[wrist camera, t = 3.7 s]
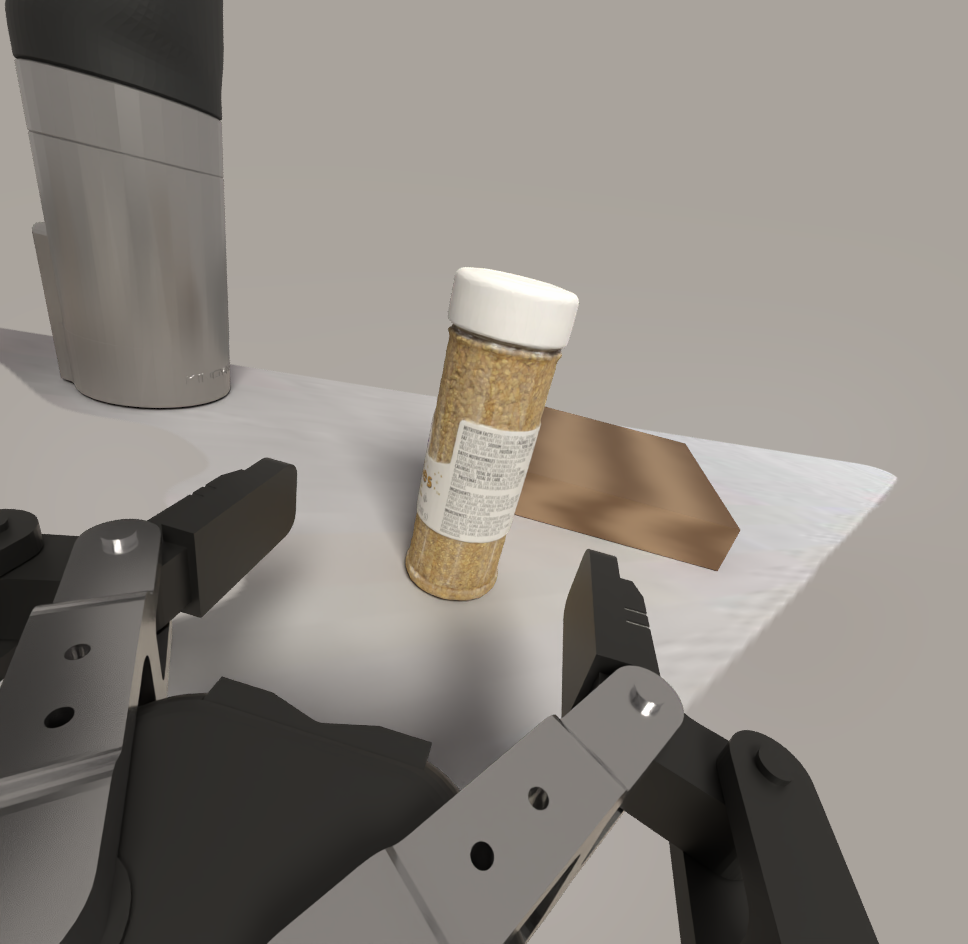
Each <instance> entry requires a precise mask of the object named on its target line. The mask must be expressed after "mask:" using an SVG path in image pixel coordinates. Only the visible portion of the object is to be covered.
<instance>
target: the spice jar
mask: <svg viewBox="0 0 968 944" xmlns="http://www.w3.org/2000/svg"><path fill="white" fill-rule="evenodd" d="M578 304H579V300H578V297H577V296H576V295H575V294H573V293H571V292H569V291H567V290H564V289H561V288H560V287H557V286H554V285H551V284H548V283H545V282H541V281H538V280H534V279H531V278H527V277H522V276H518V275H514V274H510V273H505V272H500V271H495V270H490V269H484V268H472V267H463V268H460V269H459V270H457V272H456V274H455V278H454V283H453V288H452V293H451V299H450V304H449V310H448V319H449V320H450V321H451V322H452V323H453V325H452V326H451V327H449V328H448V331H449V335H450V336H449V342H448V346H447V350H446V358H445V361H444V368H443V374H442V378H441V383H440V389H439V394H438V398H437V406H436V409H435V412H434V415H433V419H432V424H431V430H430V435H429V440H428V446H427V451H426V457H425V462H424V468H423V473H422V478H421V484H420V489H419V495H418V500H417V514H416V520H415V524H414V532H413V537H412V540H411V546H410V548H409V549H408V552H407V555H406V568H407V571H408V573H409V576H410V578H411V580H412V581H413V582H415V583H416V584H417V586H418V587H420V588H421V589H422V590H424V591H425V592H427V593H429V594H431V595H434V596H437V597H440V598H443V599H449V600H471V599H475V598H480V597H481V596H483V595H484V594H486V593H487V592H488V591H489V590H490V589H491V588H492V587H493V586H494V584H495V582H496V579H497V574H498V569H497V566H498V562H499V558H500V555H501V552H502V548H503V545H504V542H505V537H506V534H507V533H508V531H509V529H510V527H511V524H512V521H513V517H514V514H515V510H516V507H517V504H518V501H519V497H520V494H521V491H522V487H523V484H524V481H525V477H526V474H527V471H528V467H529V464H530V460H531V457H532V454H533V450H534V447H535V443H536V440H537V436H538V433H539V429H540V426H541V417H542V414H543V411H544V407H545V403H546V400H547V395H548V392H549V389H550V385H551V382H552V379H553V375H554V372H555V369H556V364H557V362H558V360H559V359H560V358H561V356H562V353H561V349H562V348H564V347H566V345H567V344H568V341H569V338H570V334H571V331H572V328H573V324H574V320H575V316H576V312H577V308H578Z"/></svg>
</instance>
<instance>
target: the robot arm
mask: <svg viewBox="0 0 968 944" xmlns="http://www.w3.org/2000/svg"><path fill="white" fill-rule="evenodd" d="M5 11H6V18H7V25H8V31H9V36H10V41H11V46H12V52H13V55H14V57H15V58H17V59H15V60H14V61H15V66H16V71H17V77H18V82H19V87H20V93H21V98H22V103H23V109H24V114H25V120H26V125H27V129H28V130H29V132H28V134H29V140H30V144H31V151H32V156H33V161H34V166H35V172H36V178H37V183H38V188H39V193H40V198H41V204H42V210H43V215H44V221H45V222H38V223H35V224H34V225H33V227H32V233H33V238H34V244H35V248H36V253H37V259H38V264H39V268H40V273H41V278H42V283H43V289H44V294H45V299H46V304H47V309H48V314H49V319H50V324H51V329H52V334H53V339H54V344H55V349H56V354H57V359H58V364H59V369H60V374H61V378H63V379H66V380H69V381H72V382H73V383H74V384H75V386H76V389H77V390H79V391H80V392H81V393H82V394H84V395H86V396H89V397H91V398H93V399H97V400H100V401H104V402H107V403H113V404H118V405H124V406H134V407H149V408H171V407H185V406H193V405H199V404H204V403H208V402H211V401H215V400H218V399H220V398H222V397H224V396H225V395H226V394H227V393H228V392H229V390H230V362H229V323H228V295H227V266H226V265H227V264H226V235H225V208H224V207H225V205H224V179H223V148H222V122H221V121H220V120H222V107H221V87H222V74H223V52H224V51H223V50H224V46H223V0H6V2H5ZM296 488H297V470H296V467H295V466H294V465H292V464H288V463H285V462H281V461H278V460H274V459H271V458H263V459H261V460H260V461H258V462H257V463H255V464H254V465H252V466H251V467H249V468H247V469H246V470H242V469H241V470H238V471H234V472H231V473H227V474H224V475H221V476H219V477H218V478H216V479H214V480H213V481H211V482H209V483H208V484H206V486H205V487H201V488H200V489H198V490H196V491H195V492H193V494H192V495H188V496H187V497H185V498H183V499H182V500H180V501H178V502H177V503H175V504H174V505H172V506H170V507H169V508H167V509H165V510H164V511H162V512H161V513H159V514H157V515H156V516H154V517H152V518H151V519H149V520H147V521H145V520H139V519H121V520H115V521H109V522H106V523H102V524H99V525H96V526H94V527H92V528H90V529H88V530H86V531H85V532H83V533H82V534H81V535H80V536H66V535H50V534H41V530H40V526H39V522H38V519H37V517H36V516H35V515H33V514H32V513H30V512H26V511H23V510H15V509H0V681H1V680H3V679H4V680H3V682H2V685H1V687H0V944H526V943H527V942H528V941H529V940H530V938H531V937H532V936H533V934H534V933H535V932H536V930H537V929H538V928H539V926H540V925H541V924H542V922H543V921H544V920H545V918H546V917H547V916H548V914H549V913H550V912H551V910H552V909H553V907H554V906H555V904H556V903H557V902H558V900H559V899H560V898H561V896H562V895H563V893H564V892H565V890H566V889H567V887H568V886H569V884H570V883H571V882H572V880H573V879H574V878H575V876H576V875H577V874H578V872H579V871H580V870H581V868H582V867H583V866H584V864H585V863H586V862H587V861H588V859H589V858H590V857H591V855H592V854H593V853H594V851H595V850H596V849H597V847H598V846H599V845H600V843H601V842H602V841H603V839H604V838H605V837H606V835H607V834H608V833H609V831H610V830H611V829H612V827H613V826H614V825H615V824H616V822H617V821H618V820H619V818H620V817H621V816H622V815H623V813H624V812H625V811H626V812H627V813H628V814H630V815H631V816H633V817H634V818H636V819H637V820H639V821H640V822H642V823H643V824H644V825H646V826H647V827H649V828H650V829H652V830H653V831H655V832H656V833H658V834H659V835H660V836H662V837H663V838H665V839H666V840H668V841H669V844H670V854H671V862H672V870H673V879H674V887H675V895H676V904H677V913H678V921H679V930H680V938H681V944H879V943H878V941H877V938H876V935H875V933H874V930H873V928H872V925H871V923H870V921H869V918H868V916H867V914H866V911H865V908H864V906H863V904H862V901H861V899H860V896H859V894H858V891H857V889H856V887H855V884H854V882H853V879H852V877H851V874H850V872H849V870H848V867H847V865H846V862H845V860H844V858H843V855H842V853H841V850H840V848H839V845H838V843H837V840H836V838H835V835H834V833H833V831H832V828H831V826H830V824H829V821H828V819H827V816H826V814H825V811H824V809H823V806H822V804H821V802H820V799H819V797H818V794H817V792H816V790H815V787H814V785H813V782H812V780H811V778H810V776H809V775H808V773H807V771H806V770H805V769H804V767H803V766H802V765H801V763H800V762H799V761H798V760H797V759H796V758H795V757H794V756H793V755H792V754H791V753H790V752H789V751H788V750H787V749H786V748H784V747H783V746H782V745H781V744H779V743H778V742H776V741H775V740H773V739H772V738H770V737H768V736H766V735H764V734H761V733H759V732H755V731H750V730H743V731H739V732H737V733H735V734H734V735H733V736H732V738H731V739H730V740H729V741H728V740H726V739H724V738H723V737H721V736H719V735H718V734H716V733H714V732H713V731H711V730H709V729H707V728H705V727H704V726H702V725H700V724H699V723H697V722H696V721H694V720H693V719H691V718H690V717H688V716H687V715H686V714H685V713H684V710H683V705H682V703H681V700H680V698H679V696H678V695H677V693H676V692H675V690H674V689H673V688H672V687H671V686H670V685H669V684H668V683H667V682H666V681H665V680H664V679H663V678H661V677H660V673H659V668H658V663H657V659H656V654H655V650H654V645H653V640H652V636H651V631H650V629H649V622H648V617H647V616H646V613H647V612H646V608H645V603H644V599H643V596H642V595H641V593H640V592H639V590H638V589H637V588H636V586H635V585H634V583H633V582H632V581H629V580H625V579H622V578H620V575H619V568H618V562H617V558H616V557H615V556H612V555H608V554H605V553H601V552H597V551H594V550H590V549H587V550H586V552H585V553H584V556H583V558H582V561H581V563H580V566H579V568H578V571H577V573H576V576H575V578H574V581H573V584H572V586H571V589H570V591H569V594H568V597H567V600H566V605H565V610H564V618H563V667H562V717H561V719H559V718H558V717H557V716H556V715H551V716H549V717H548V718H546V719H545V720H544V721H542V722H541V723H540V724H539V725H538V726H536V727H535V728H534V729H533V730H532V731H531V732H529V733H528V734H527V735H526V736H525V737H523V738H522V739H521V740H520V741H519V742H518V743H516V744H515V745H514V746H513V747H512V748H510V749H509V750H508V751H507V752H506V753H505V754H503V755H502V756H501V757H500V758H499V759H498V760H496V761H495V762H494V763H493V764H492V765H490V766H489V767H488V768H487V769H486V770H485V771H483V772H482V773H481V774H480V775H479V776H478V777H476V778H475V779H474V780H473V781H472V782H470V783H469V784H468V785H467V786H466V787H465V788H463V789H462V790H461V791H460V790H459V789H458V788H457V787H456V785H455V784H454V783H453V782H452V781H451V780H450V779H449V778H448V777H447V776H446V775H445V774H444V773H443V772H441V771H440V770H439V769H438V768H437V767H435V766H434V765H432V764H431V763H429V762H428V761H427V759H428V755H429V751H430V748H431V744H432V743H431V742H428V741H425V740H422V739H419V738H415V737H412V736H409V735H406V734H403V733H400V732H396V731H393V730H390V729H387V728H384V727H380V726H368V725H349V724H330V723H320V722H317V721H315V720H313V719H311V718H310V717H308V716H307V715H305V714H304V713H302V712H301V711H299V710H298V709H296V708H295V707H293V706H292V705H290V704H289V703H287V702H286V701H284V700H283V699H281V698H280V697H278V696H277V695H275V694H274V693H272V692H269V691H266V690H263V689H260V688H257V687H253V686H250V685H247V684H244V683H241V682H237V681H234V680H231V679H228V678H225V677H221V678H220V679H219V681H218V682H217V683H216V684H215V685H214V687H213V688H212V689H211V690H210V691H209V693H197V694H185V695H178V696H172V697H168V698H167V690H168V677H169V665H170V653H171V641H172V619H173V618H174V617H175V616H176V615H177V614H178V613H180V612H183V613H187V614H190V615H193V616H196V617H200V618H201V617H202V616H204V615H205V614H206V613H207V612H208V611H209V610H210V609H211V608H212V607H213V606H214V605H215V604H216V603H217V602H218V601H219V600H220V599H221V598H222V597H223V596H224V595H225V594H226V593H227V592H228V591H229V590H230V589H231V588H233V587H234V586H235V585H236V584H237V583H238V582H239V581H240V580H241V579H242V578H243V577H244V576H245V575H246V574H247V573H248V572H249V571H250V570H251V569H252V568H253V567H254V566H255V565H256V564H257V563H258V562H259V561H260V560H262V559H263V558H264V557H265V556H266V555H267V554H268V553H269V552H270V551H271V550H272V549H273V548H274V547H275V546H276V545H277V544H278V543H279V542H280V541H281V540H282V539H283V538H284V537H285V536H286V535H287V534H288V533H289V531H290V529H291V527H292V525H293V523H294V519H295V514H296Z"/></svg>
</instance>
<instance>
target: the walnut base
mask: <svg viewBox="0 0 968 944" xmlns="http://www.w3.org/2000/svg"><path fill="white" fill-rule="evenodd" d="M515 515H519V516H522V517H526V518H530V519H533V520H537V521H540V522H544V523H547V524H551V525H555V526H558V527H562V528H565V529H569V530H573V531H576V532H580V533H583V534H587V535H590V536H594V537H598V538H601V539H605V540H608V541H612V542H616V543H619V544H623V545H626V546H630V547H633V548H637V549H641V550H644V551H648V552H651V553H655V554H659V555H662V556H666V557H669V558H673V559H676V560H680V561H684V562H687V563H691V564H694V565H698V566H702V567H705V568H709V569H712V570H716V571H718V569H719V568H720V566H721V564H722V562H723V560H724V559H725V557H726V555H727V553H728V551H729V550H730V548H731V546H732V544H733V543H734V541H735V539H736V537H737V535H738V534H739V532H740V529H739V527H738V525H737V524H736V522H735V521H734V519H733V518H732V516H731V515H730V513H729V511H728V510H727V508H726V507H725V505H724V504H723V502H722V500H721V499H720V497H719V496H718V494H717V493H716V491H715V490H714V488H713V486H712V485H711V483H710V482H709V480H708V479H707V477H706V475H705V474H704V472H703V471H702V469H701V468H700V466H699V464H698V463H697V461H696V460H695V458H694V457H693V455H692V454H691V452H690V450H689V449H688V447H687V446H686V444H685V443H681V442H677V441H673V440H669V439H666V438H662V437H658V436H654V435H650V434H647V433H643V432H639V431H635V430H631V429H628V428H624V427H620V426H616V425H612V424H609V423H604V422H601V421H597V420H593V419H589V418H586V417H582V416H578V415H574V414H571V413H567V412H563V411H559V410H555V409H552V408H548V407H544V411H543V414H542V417H541V426H540V429H539V433H538V436H537V440H536V443H535V447H534V450H533V454H532V457H531V460H530V464H529V467H528V471H527V474H526V477H525V481H524V484H523V487H522V491H521V494H520V497H519V501H518V504H517V507H516V510H515Z"/></svg>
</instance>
